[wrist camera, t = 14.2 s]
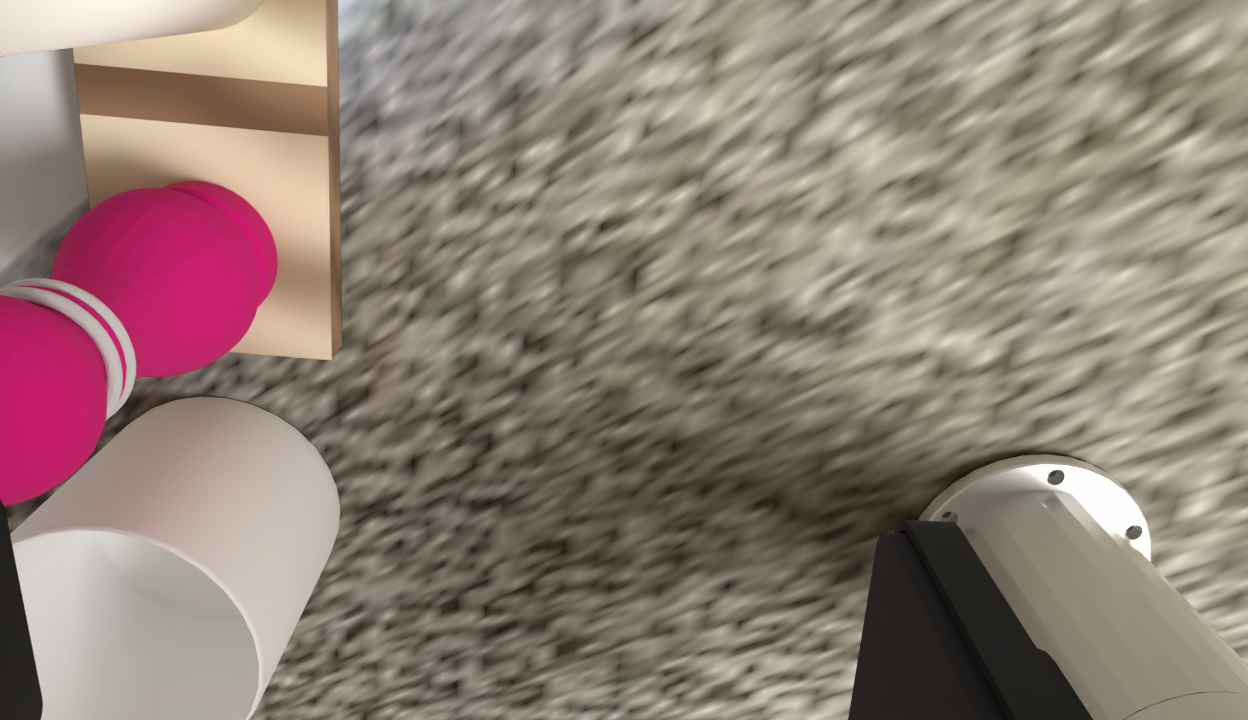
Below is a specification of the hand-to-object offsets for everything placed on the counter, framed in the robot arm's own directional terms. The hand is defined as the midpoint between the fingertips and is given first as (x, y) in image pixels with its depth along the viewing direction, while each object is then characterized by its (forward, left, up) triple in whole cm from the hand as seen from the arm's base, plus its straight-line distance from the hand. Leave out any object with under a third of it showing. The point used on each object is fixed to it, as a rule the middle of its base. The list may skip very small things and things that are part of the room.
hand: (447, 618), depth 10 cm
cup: (-19, +16, -34) cm, 43 cm away
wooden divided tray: (+1, +15, -34) cm, 37 cm away
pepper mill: (-6, +15, -32) cm, 36 cm away
